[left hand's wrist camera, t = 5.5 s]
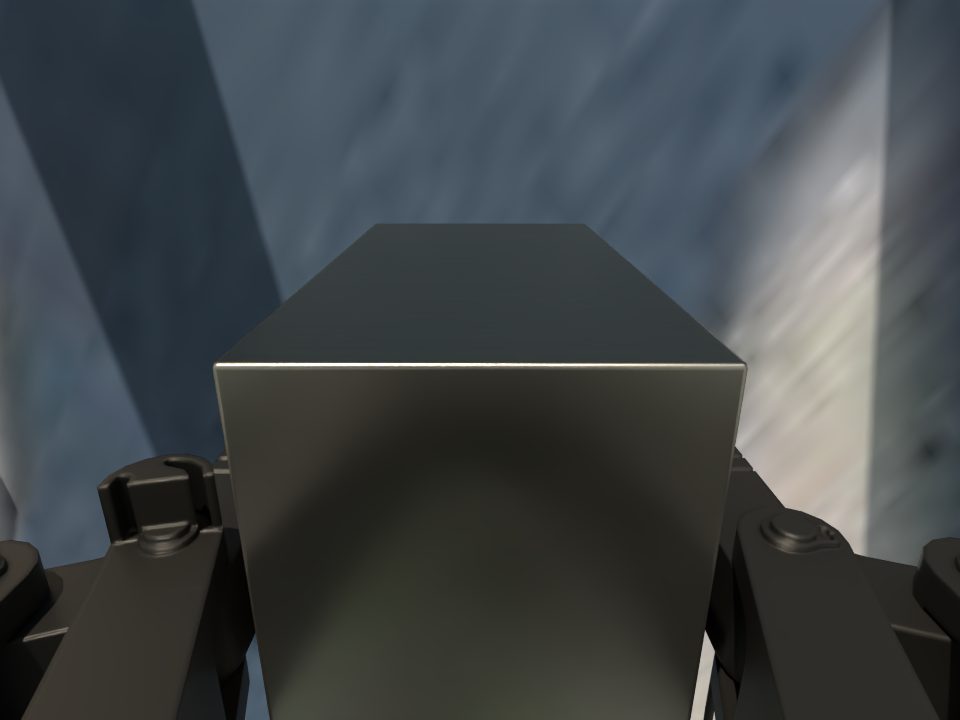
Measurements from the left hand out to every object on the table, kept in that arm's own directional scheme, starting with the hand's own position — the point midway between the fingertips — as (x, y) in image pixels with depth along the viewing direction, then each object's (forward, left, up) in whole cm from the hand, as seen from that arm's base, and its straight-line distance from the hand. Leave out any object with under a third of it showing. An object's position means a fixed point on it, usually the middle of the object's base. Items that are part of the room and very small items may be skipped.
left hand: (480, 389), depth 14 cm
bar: (+7, +4, -1) cm, 8 cm away
